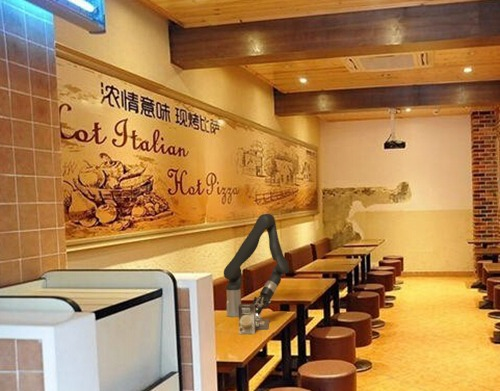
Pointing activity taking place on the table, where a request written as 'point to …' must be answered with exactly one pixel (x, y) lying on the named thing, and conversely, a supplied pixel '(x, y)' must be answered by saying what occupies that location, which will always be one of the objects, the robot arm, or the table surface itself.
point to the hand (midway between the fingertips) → (255, 312)
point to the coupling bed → (262, 324)
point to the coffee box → (246, 318)
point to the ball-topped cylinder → (257, 315)
